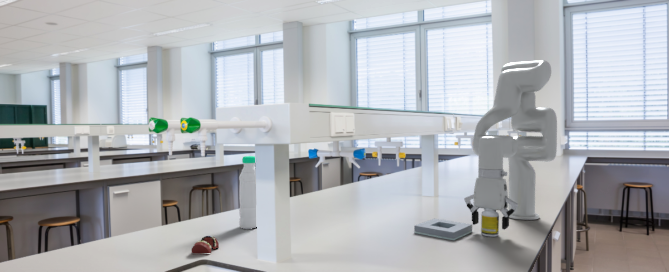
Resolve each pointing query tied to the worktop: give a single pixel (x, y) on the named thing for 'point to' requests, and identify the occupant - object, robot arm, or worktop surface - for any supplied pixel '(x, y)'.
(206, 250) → the dental model
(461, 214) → the worktop surface
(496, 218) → the supplement bottle
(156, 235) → the worktop surface
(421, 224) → the holder block
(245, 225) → the water bottle
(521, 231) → the worktop surface
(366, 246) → the worktop surface
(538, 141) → the robot arm
